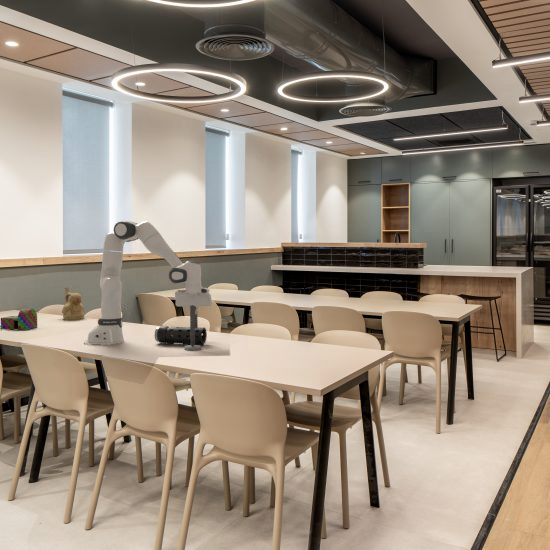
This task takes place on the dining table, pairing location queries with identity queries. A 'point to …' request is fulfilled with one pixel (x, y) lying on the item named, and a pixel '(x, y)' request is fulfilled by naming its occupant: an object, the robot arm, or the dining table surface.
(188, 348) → the post
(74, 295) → the tan eared figurine
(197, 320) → the far cord post
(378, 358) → the dining table surface
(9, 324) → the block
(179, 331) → the muzzle brake
